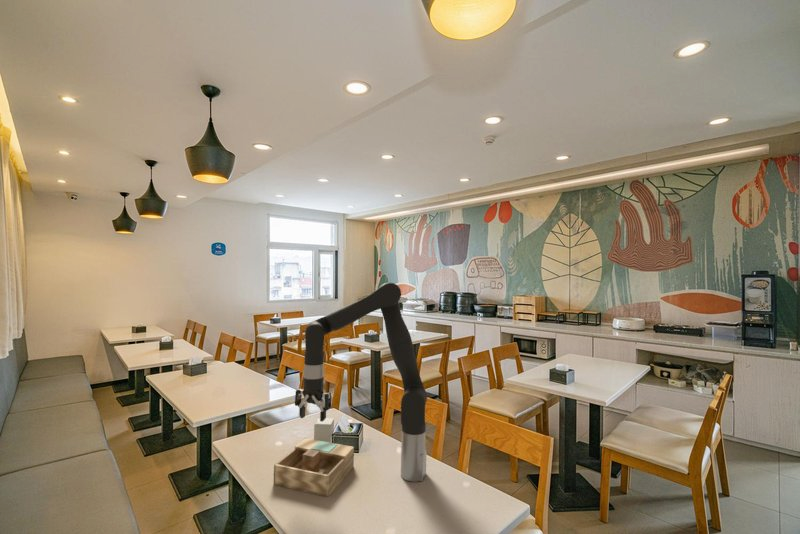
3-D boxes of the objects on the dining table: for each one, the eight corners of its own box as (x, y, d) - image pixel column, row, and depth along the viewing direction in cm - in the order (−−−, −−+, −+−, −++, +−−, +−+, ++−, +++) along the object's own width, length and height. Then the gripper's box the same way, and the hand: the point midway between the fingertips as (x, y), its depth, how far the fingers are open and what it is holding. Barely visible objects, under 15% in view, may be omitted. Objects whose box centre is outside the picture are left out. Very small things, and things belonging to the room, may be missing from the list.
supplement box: (330, 454, 152) (331, 424, 153) (312, 454, 153) (313, 424, 153) (333, 446, 160) (334, 417, 160) (317, 445, 160) (318, 417, 160)
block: (319, 471, 135) (319, 451, 135) (312, 477, 130) (313, 456, 131) (308, 469, 136) (309, 449, 136) (302, 475, 132) (302, 454, 132)
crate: (353, 466, 143) (354, 446, 143) (327, 497, 123) (328, 473, 123) (305, 457, 150) (306, 437, 150) (273, 484, 130) (274, 462, 130)
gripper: (335, 375, 136) (334, 418, 136) (303, 371, 141) (301, 412, 140) (325, 380, 129) (323, 425, 128) (291, 376, 133) (290, 420, 133)
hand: (312, 419), depth 134 cm, fingers open, 8 cm apart
